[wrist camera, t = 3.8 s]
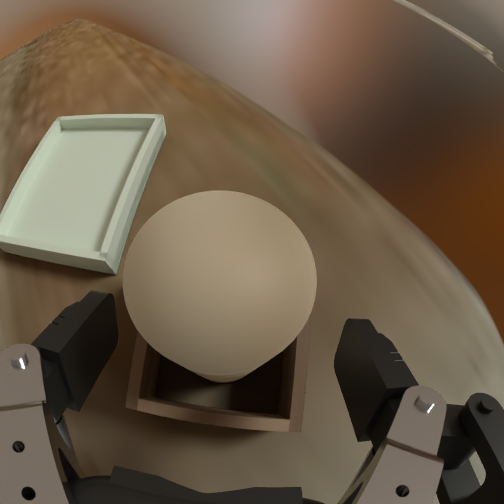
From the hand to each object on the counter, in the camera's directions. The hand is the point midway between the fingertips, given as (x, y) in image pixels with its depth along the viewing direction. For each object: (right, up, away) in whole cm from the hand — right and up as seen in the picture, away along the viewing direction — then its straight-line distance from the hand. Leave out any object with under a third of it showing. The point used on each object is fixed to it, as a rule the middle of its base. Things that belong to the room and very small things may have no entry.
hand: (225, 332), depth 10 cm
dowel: (-1, -3, +7) cm, 8 cm away
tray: (-13, +8, +11) cm, 18 cm away
